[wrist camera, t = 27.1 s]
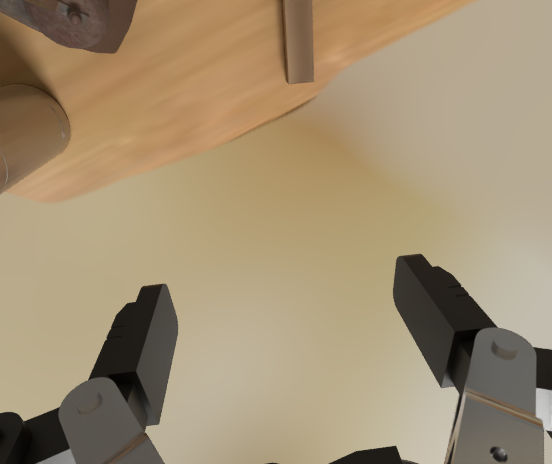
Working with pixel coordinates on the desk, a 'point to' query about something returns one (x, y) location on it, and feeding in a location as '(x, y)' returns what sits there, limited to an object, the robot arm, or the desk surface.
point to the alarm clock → (76, 21)
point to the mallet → (298, 40)
